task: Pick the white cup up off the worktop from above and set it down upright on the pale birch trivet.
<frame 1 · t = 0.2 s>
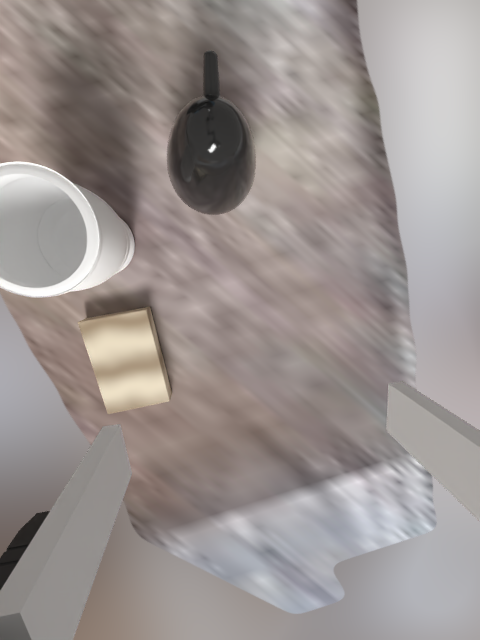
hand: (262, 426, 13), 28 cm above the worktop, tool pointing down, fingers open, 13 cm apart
birch trivet: (131, 357, 39), on the worktop
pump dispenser: (211, 178, 35), on the worktop
white cup: (103, 243, 36), on the worktop
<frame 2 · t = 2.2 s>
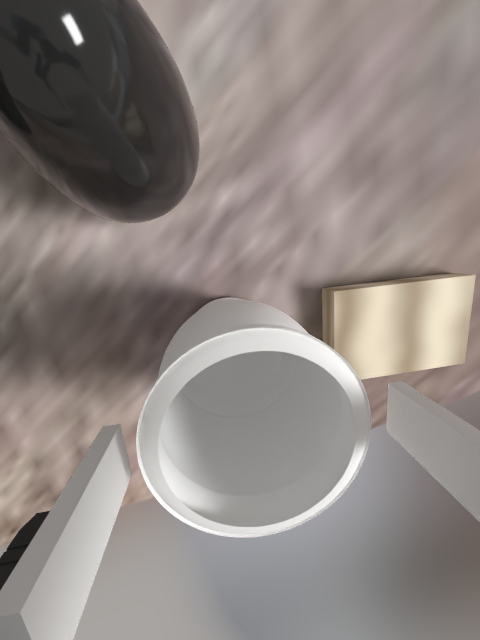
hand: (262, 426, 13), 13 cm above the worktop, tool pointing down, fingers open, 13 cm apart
birch trivet: (386, 323, 28), on the worktop
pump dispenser: (135, 162, 21), on the worktop
white cup: (229, 339, 26), on the worktop
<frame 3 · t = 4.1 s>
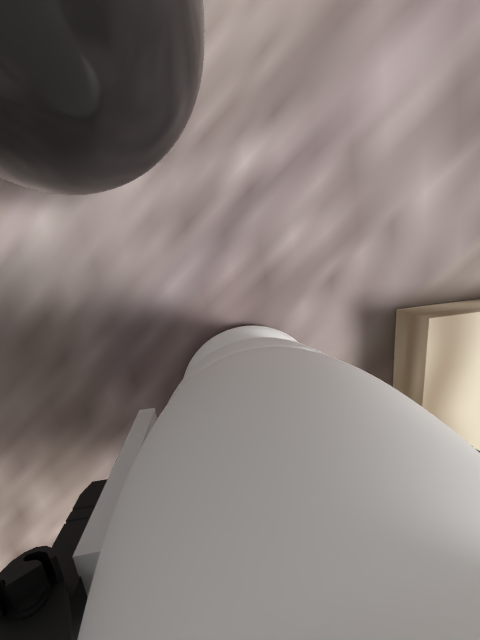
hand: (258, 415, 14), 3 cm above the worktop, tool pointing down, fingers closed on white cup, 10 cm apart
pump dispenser: (92, 95, 12), on the worktop
white cup: (250, 388, 17), on the worktop, touching gripper
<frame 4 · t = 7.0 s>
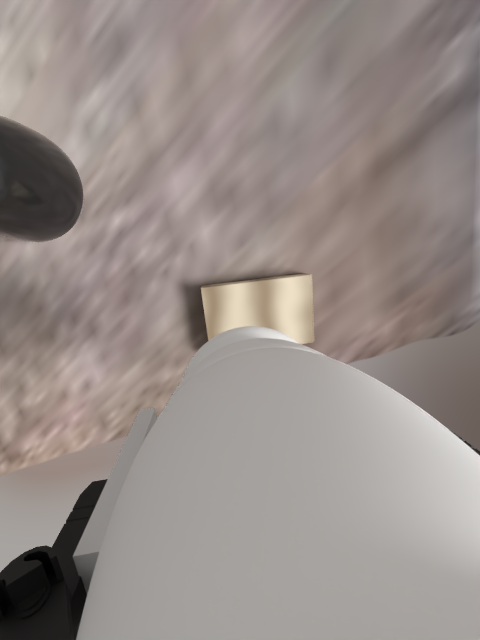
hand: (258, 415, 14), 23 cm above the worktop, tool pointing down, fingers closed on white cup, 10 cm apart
birch trivet: (256, 312, 36), on the worktop
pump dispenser: (48, 196, 30), on the worktop
white cup: (249, 388, 17), point 20 cm above the worktop, touching gripper
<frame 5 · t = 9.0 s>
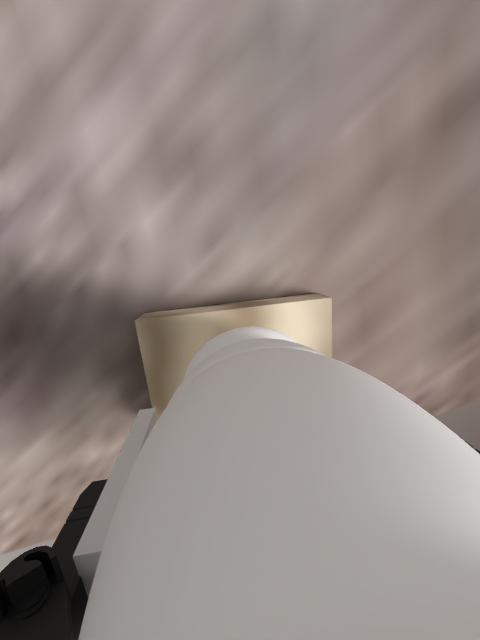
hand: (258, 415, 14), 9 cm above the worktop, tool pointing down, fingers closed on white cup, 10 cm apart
birch trivet: (238, 355, 22), on the worktop
white cup: (250, 388, 17), point 6 cm above the worktop, touching gripper
when the fingers open (7 cm above the worktop, at t = 10.3 s): white cup drops 1 cm, resting on birch trivet.
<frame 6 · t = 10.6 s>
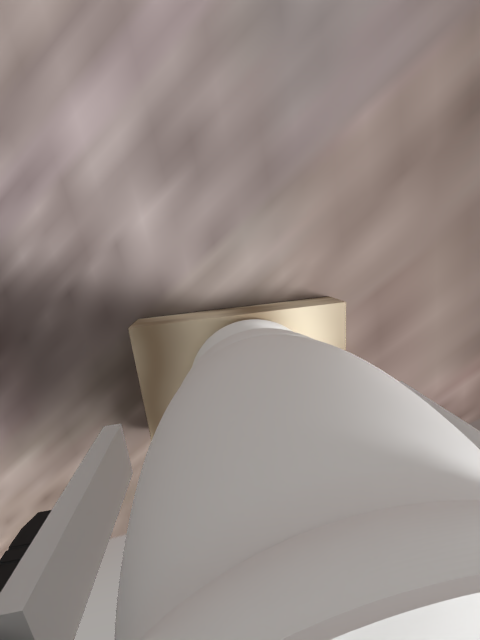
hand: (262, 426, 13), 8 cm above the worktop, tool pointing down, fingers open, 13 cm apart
birch trivet: (242, 364, 20), on the worktop
white cup: (252, 377, 18), point 2 cm above the worktop, touching birch trivet
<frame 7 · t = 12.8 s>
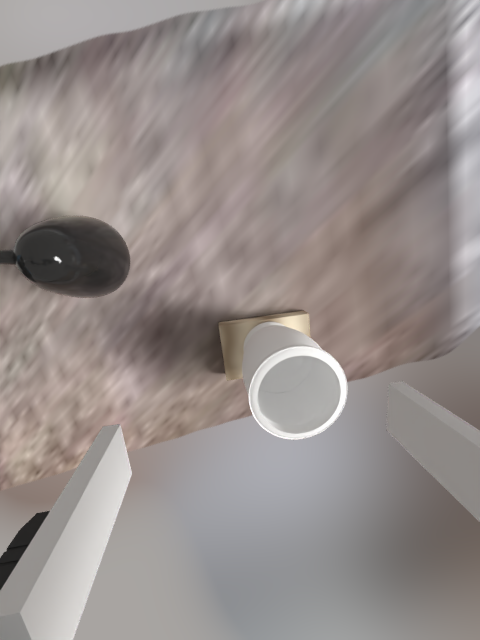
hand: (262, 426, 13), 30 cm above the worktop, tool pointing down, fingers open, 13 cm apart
birch trivet: (264, 342, 44), on the worktop
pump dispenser: (101, 258, 38), on the worktop
white cup: (269, 346, 41), point 2 cm above the worktop, touching birch trivet
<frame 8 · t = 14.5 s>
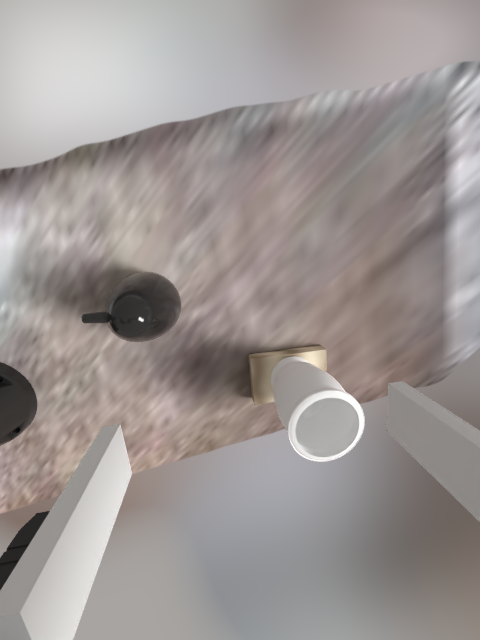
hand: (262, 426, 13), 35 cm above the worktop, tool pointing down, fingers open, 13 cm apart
birch trivet: (286, 371, 51), on the worktop
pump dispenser: (152, 300, 45), on the worktop
white cup: (291, 376, 49), point 2 cm above the worktop, touching birch trivet
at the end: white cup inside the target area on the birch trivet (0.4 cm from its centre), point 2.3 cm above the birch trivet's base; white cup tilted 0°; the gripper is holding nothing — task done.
